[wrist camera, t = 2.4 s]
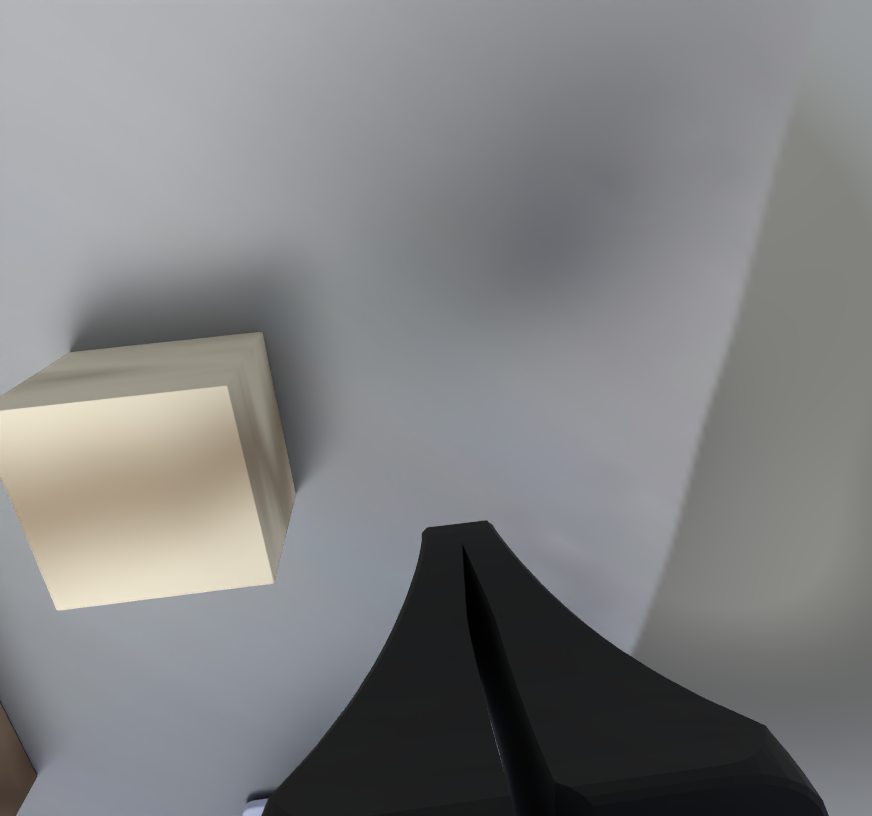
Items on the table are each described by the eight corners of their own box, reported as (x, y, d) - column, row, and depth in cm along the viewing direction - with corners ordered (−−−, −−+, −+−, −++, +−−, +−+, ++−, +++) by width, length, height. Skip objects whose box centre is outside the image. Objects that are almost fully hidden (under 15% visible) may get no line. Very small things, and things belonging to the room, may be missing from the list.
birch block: (296, 492, 22) (274, 583, 17) (126, 512, 21) (56, 610, 17) (263, 330, 19) (226, 385, 15) (71, 351, 19) (-27, 413, 15)
